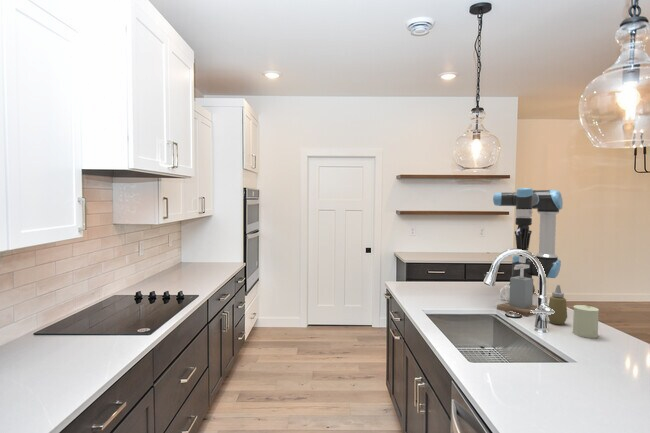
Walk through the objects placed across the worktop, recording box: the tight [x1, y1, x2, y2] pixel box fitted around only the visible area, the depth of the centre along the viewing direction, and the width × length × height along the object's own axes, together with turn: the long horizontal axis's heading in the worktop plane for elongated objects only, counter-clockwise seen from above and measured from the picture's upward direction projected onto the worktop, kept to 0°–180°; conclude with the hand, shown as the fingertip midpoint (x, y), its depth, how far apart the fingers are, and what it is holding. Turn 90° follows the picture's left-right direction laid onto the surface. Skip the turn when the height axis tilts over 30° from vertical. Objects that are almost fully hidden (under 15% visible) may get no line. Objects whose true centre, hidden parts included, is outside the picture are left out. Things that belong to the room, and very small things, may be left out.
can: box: [572, 304, 600, 339], centre depth 165 cm, size 9×9×12 cm
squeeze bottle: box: [547, 284, 568, 326], centre depth 179 cm, size 8×8×18 cm
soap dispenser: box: [509, 276, 534, 309], centre depth 201 cm, size 8×8×15 cm
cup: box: [499, 284, 510, 302], centre depth 221 cm, size 7×10×8 cm
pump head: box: [514, 264, 529, 279], centre depth 199 cm, size 10×4×10 cm, turn 125°
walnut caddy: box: [496, 302, 538, 317], centre depth 201 cm, size 18×16×2 cm
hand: (522, 262), depth 200 cm, fingers closed
